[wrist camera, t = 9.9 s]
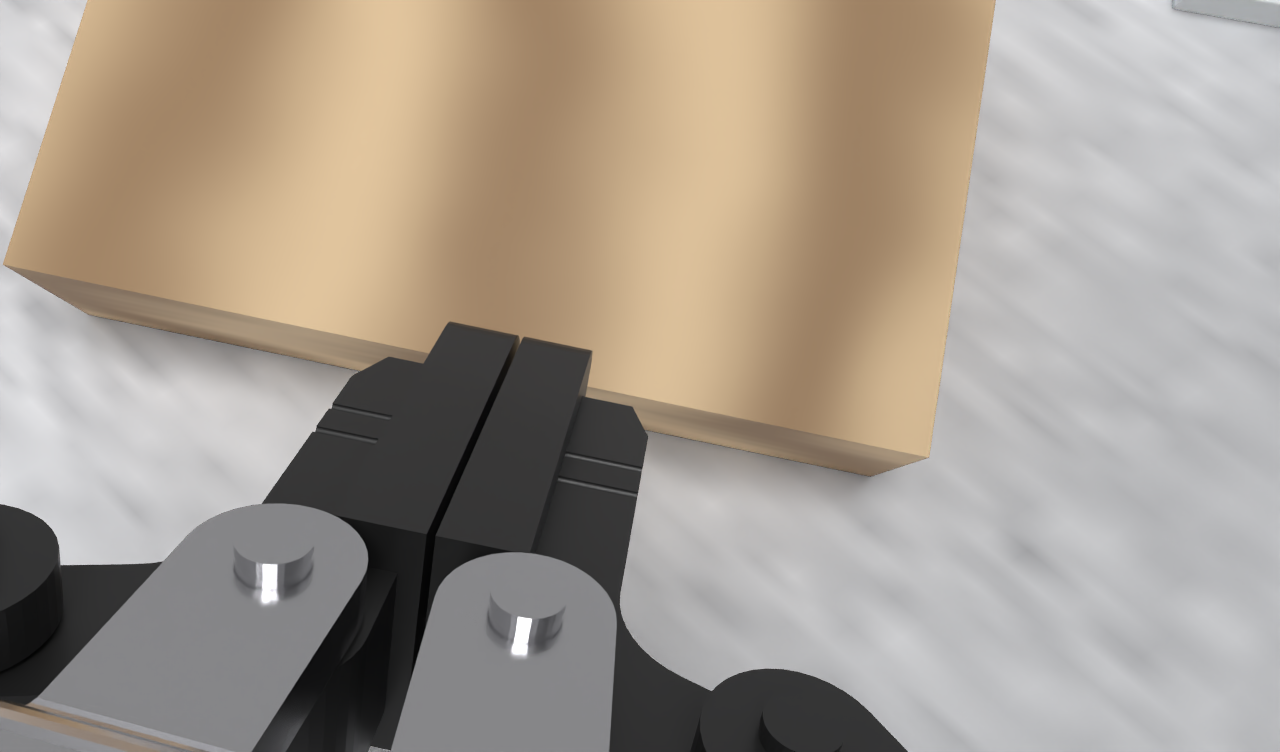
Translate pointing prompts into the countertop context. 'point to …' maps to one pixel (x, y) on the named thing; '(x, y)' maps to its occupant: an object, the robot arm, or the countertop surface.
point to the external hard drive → (1235, 9)
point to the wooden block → (538, 194)
